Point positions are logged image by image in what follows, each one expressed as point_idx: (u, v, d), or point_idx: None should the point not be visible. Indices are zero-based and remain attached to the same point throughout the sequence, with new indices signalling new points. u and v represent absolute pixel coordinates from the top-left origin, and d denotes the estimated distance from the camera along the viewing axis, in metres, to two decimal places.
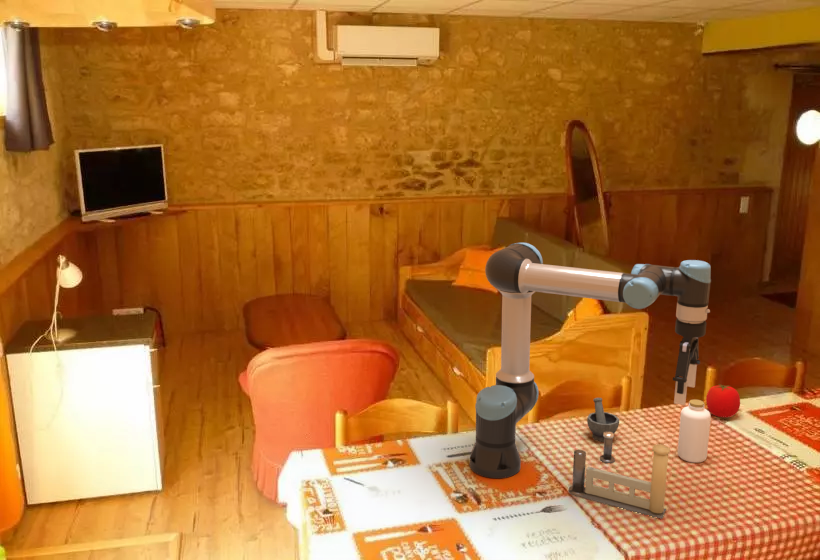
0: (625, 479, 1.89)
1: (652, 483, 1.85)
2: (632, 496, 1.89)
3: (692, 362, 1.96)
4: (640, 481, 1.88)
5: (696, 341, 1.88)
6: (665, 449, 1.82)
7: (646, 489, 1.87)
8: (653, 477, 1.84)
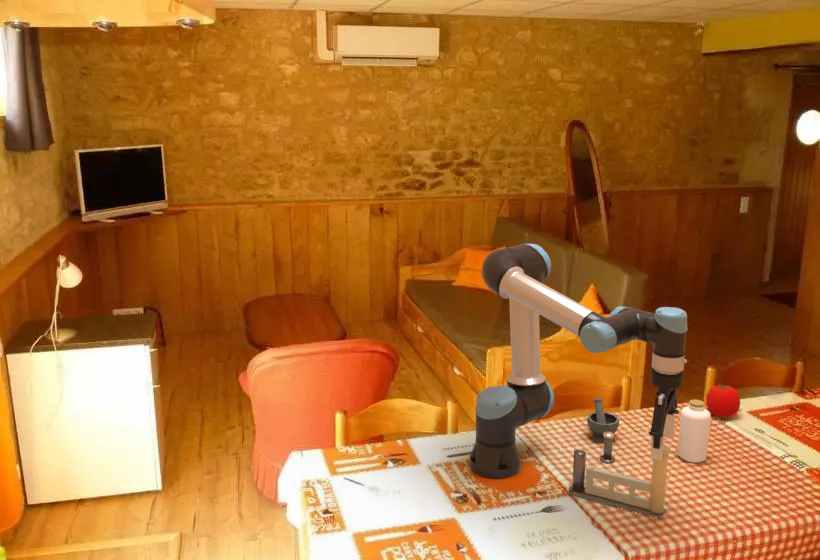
0: (625, 479, 1.89)
1: (652, 483, 1.85)
2: (632, 496, 1.89)
3: (670, 412, 1.87)
4: (640, 481, 1.88)
5: (673, 392, 1.79)
6: (665, 449, 1.82)
7: (646, 489, 1.87)
8: (653, 477, 1.84)
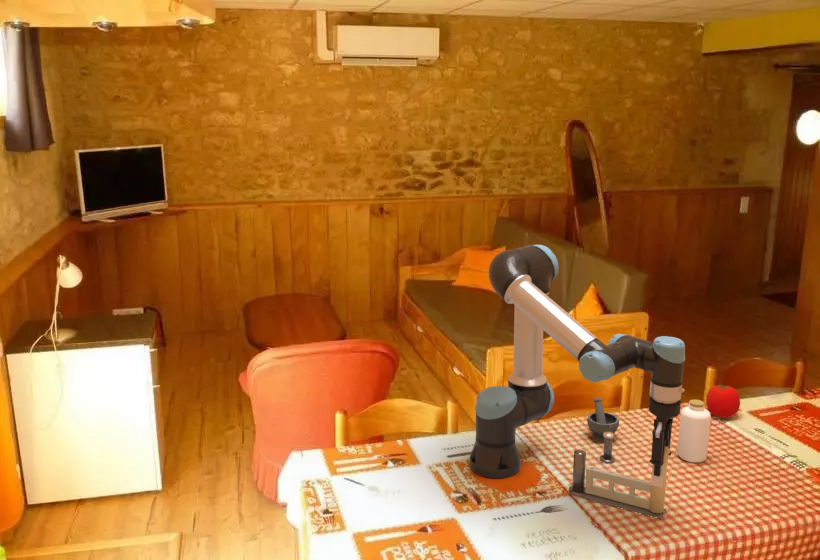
0: (625, 479, 1.89)
1: None
2: (632, 496, 1.89)
3: None
4: (640, 481, 1.88)
5: (671, 419, 1.81)
6: (665, 449, 1.82)
7: (646, 489, 1.87)
8: None
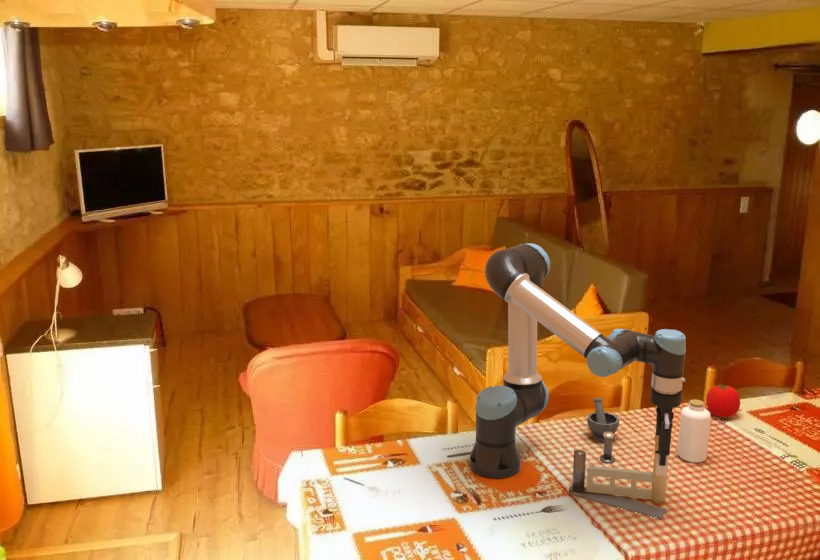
0: (627, 473, 1.92)
1: None
2: (634, 488, 1.93)
3: None
4: (642, 473, 1.92)
5: (671, 409, 1.87)
6: None
7: (649, 479, 1.91)
8: None
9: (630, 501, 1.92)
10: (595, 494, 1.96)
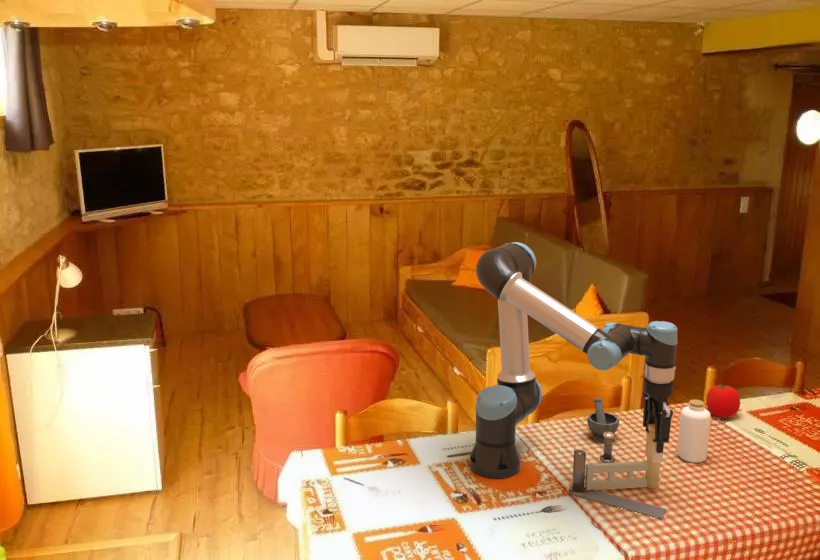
0: (625, 465, 1.96)
1: (651, 461, 1.96)
2: (631, 479, 1.98)
3: None
4: (638, 463, 1.97)
5: None
6: None
7: (644, 468, 1.97)
8: None
9: (630, 501, 1.92)
10: (595, 494, 1.96)
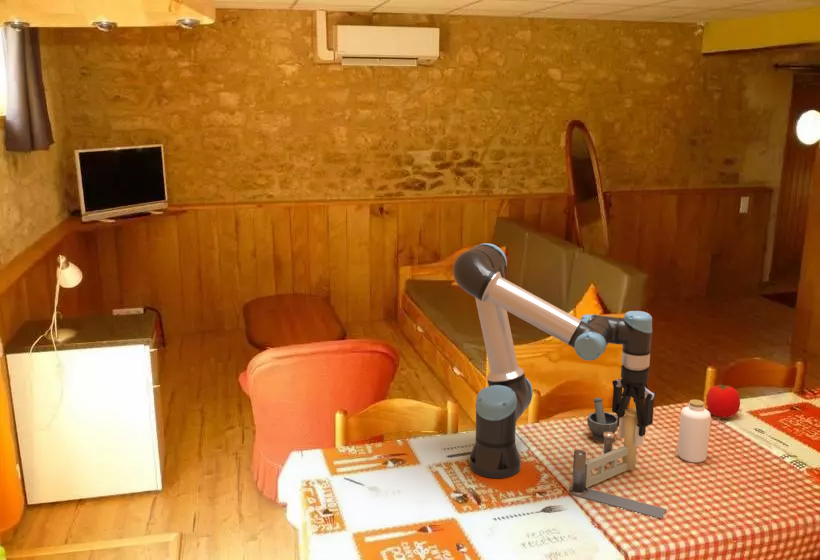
0: (612, 454, 2.02)
1: (631, 445, 2.05)
2: (616, 466, 2.05)
3: (623, 414, 2.08)
4: (620, 449, 2.05)
5: None
6: (635, 410, 2.05)
7: (625, 453, 2.06)
8: (632, 439, 2.05)
9: (630, 501, 1.92)
10: (595, 494, 1.96)
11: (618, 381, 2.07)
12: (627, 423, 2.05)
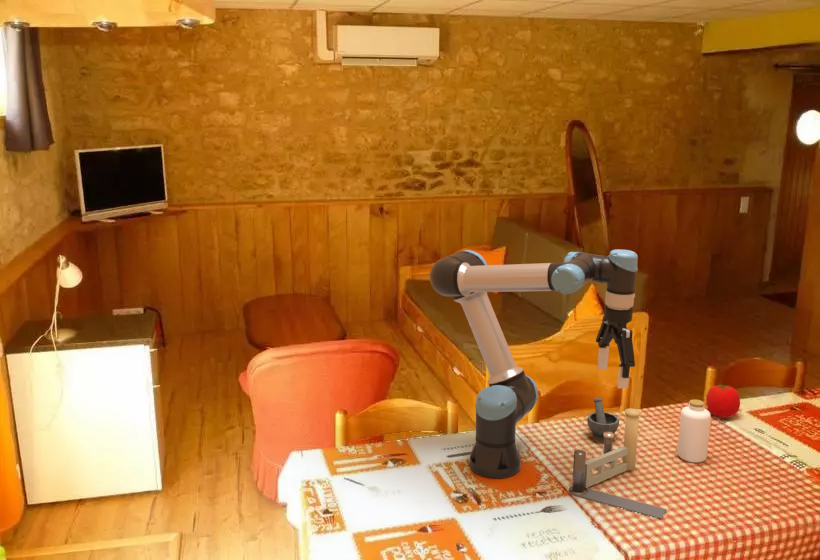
0: (612, 454, 2.02)
1: (631, 445, 2.05)
2: (616, 466, 2.05)
3: (604, 346, 2.07)
4: (620, 449, 2.05)
5: None
6: (635, 410, 2.05)
7: (625, 453, 2.06)
8: (632, 439, 2.05)
9: (630, 501, 1.92)
10: (595, 494, 1.96)
11: None
12: (627, 423, 2.05)
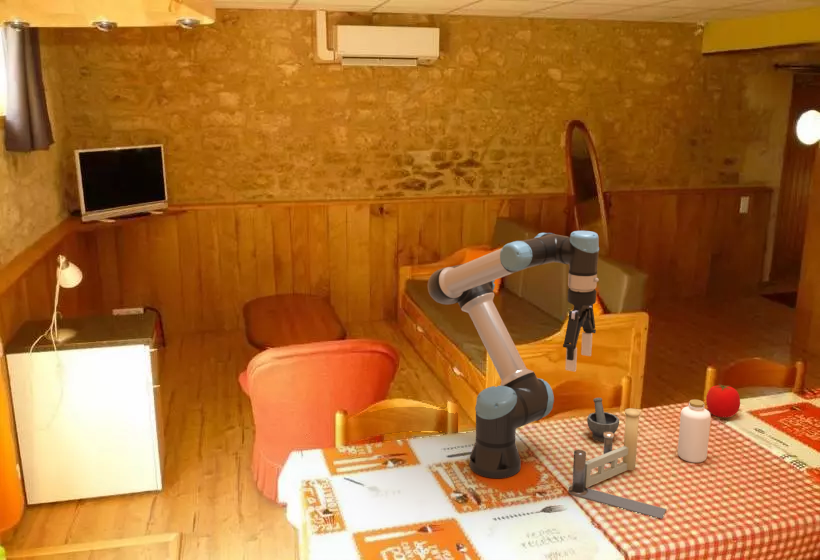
0: (612, 454, 2.02)
1: (631, 445, 2.05)
2: (616, 466, 2.05)
3: (588, 331, 2.02)
4: (620, 449, 2.05)
5: (588, 310, 1.94)
6: (635, 410, 2.05)
7: (625, 453, 2.06)
8: (632, 439, 2.05)
9: (630, 501, 1.92)
10: (595, 494, 1.96)
11: None
12: (627, 423, 2.05)
